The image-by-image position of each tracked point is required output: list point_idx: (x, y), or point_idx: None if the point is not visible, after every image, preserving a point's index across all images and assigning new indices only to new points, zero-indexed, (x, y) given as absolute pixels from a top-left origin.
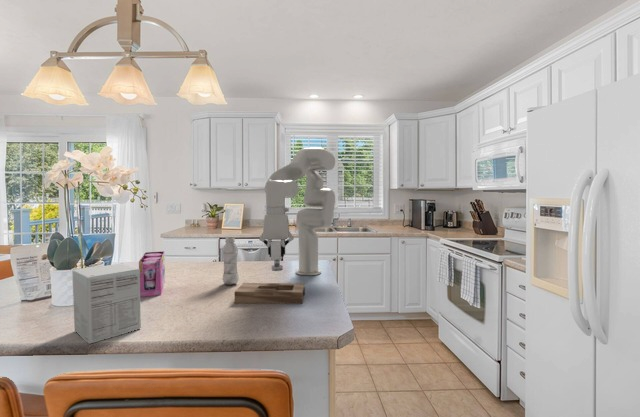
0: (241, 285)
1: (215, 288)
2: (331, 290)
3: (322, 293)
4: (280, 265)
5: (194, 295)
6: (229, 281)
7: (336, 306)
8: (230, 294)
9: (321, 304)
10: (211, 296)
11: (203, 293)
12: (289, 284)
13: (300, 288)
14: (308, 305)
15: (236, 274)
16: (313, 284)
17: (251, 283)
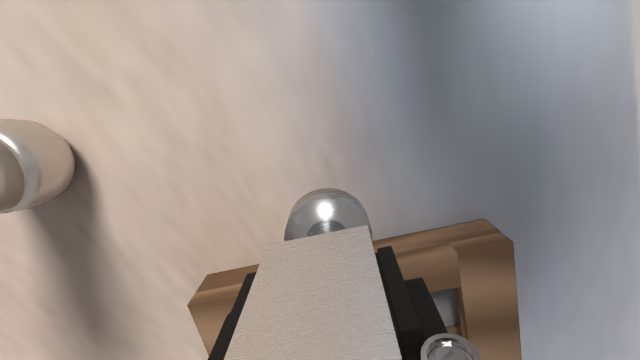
0: (206, 342)
1: (38, 240)
2: (620, 130)
3: (572, 193)
4: (349, 218)
5: (43, 339)
6: (48, 200)
7: (634, 335)
8: (166, 300)
9: (574, 328)
10: (114, 336)
11: (53, 312)
12: (432, 278)
13: (505, 327)
14: (523, 346)
15: (33, 176)
16: (505, 30)
17: (231, 304)
